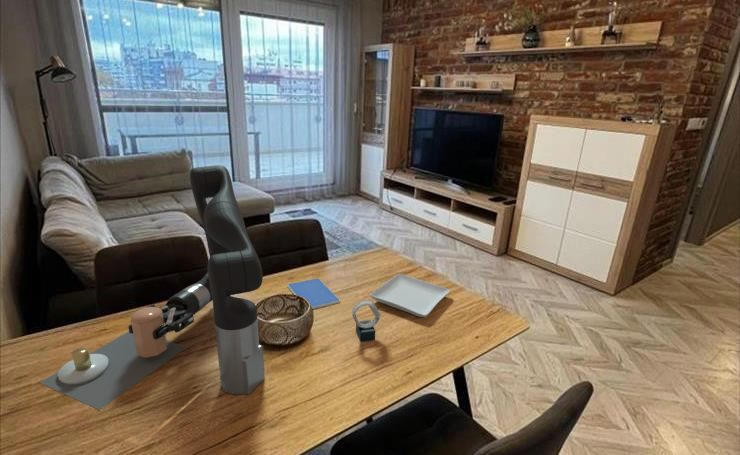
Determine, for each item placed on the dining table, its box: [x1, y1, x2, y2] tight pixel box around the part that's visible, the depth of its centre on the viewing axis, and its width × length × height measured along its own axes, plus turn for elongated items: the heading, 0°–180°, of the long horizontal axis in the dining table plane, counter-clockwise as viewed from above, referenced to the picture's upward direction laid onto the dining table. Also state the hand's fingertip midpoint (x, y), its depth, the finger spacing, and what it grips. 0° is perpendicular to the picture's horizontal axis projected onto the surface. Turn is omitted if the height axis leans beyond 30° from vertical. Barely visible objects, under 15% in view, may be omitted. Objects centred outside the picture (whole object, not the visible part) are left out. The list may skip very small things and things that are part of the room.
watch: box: [352, 299, 381, 343], centre depth 113 cm, size 6×8×11 cm
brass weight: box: [71, 346, 92, 371], centre depth 95 cm, size 3×3×4 cm
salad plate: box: [369, 273, 451, 318], centre depth 135 cm, size 21×21×3 cm
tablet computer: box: [286, 277, 341, 310], centre depth 137 cm, size 19×13×1 cm, turn 30°
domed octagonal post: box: [130, 306, 168, 358], centre depth 99 cm, size 7×7×10 cm
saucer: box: [57, 353, 109, 385], centre depth 95 cm, size 10×10×1 cm
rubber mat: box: [39, 330, 188, 411], centre depth 98 cm, size 20×24×1 cm
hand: (142, 333), depth 97 cm, fingers closed on domed octagonal post, 7 cm apart
